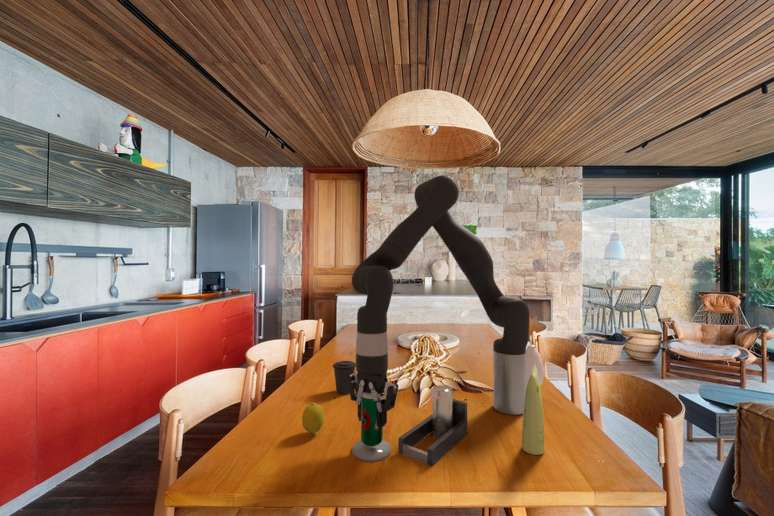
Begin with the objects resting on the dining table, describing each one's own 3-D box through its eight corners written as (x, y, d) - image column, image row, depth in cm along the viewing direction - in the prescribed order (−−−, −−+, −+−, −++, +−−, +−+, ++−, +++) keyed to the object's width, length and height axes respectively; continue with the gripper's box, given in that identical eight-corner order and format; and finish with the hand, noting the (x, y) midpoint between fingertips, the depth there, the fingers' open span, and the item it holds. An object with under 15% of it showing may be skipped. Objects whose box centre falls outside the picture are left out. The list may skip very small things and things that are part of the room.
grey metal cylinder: (438, 429, 93) (438, 383, 93) (456, 435, 90) (456, 388, 90) (428, 437, 89) (428, 389, 89) (446, 443, 86) (446, 394, 86)
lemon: (327, 430, 92) (328, 400, 92) (316, 441, 87) (317, 408, 87) (309, 427, 94) (309, 397, 94) (297, 437, 89) (297, 405, 89)
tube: (551, 455, 81) (551, 370, 81) (531, 458, 79) (531, 371, 80) (535, 443, 86) (535, 362, 86) (517, 445, 85) (516, 364, 85)
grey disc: (369, 437, 89) (369, 434, 89) (398, 448, 84) (398, 446, 84) (344, 452, 82) (344, 449, 82) (374, 466, 76) (374, 463, 76)
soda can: (379, 448, 80) (380, 395, 80) (358, 446, 81) (358, 393, 81) (384, 437, 85) (384, 387, 85) (364, 435, 86) (364, 385, 86)
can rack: (436, 424, 96) (436, 394, 96) (467, 433, 91) (467, 402, 91) (398, 452, 82) (398, 418, 82) (432, 466, 76) (432, 429, 76)
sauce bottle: (515, 389, 122) (514, 337, 122) (525, 384, 127) (525, 334, 127) (537, 396, 116) (537, 341, 116) (547, 390, 121) (547, 337, 121)
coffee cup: (361, 390, 121) (361, 361, 121) (346, 398, 114) (346, 367, 114) (342, 385, 125) (342, 357, 125) (327, 393, 118) (327, 363, 119)
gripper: (406, 352, 82) (406, 425, 81) (359, 343, 90) (359, 409, 90) (386, 359, 76) (386, 439, 75) (338, 349, 84) (338, 420, 84)
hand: (371, 422), depth 83 cm, fingers closed on soda can, 5 cm apart
